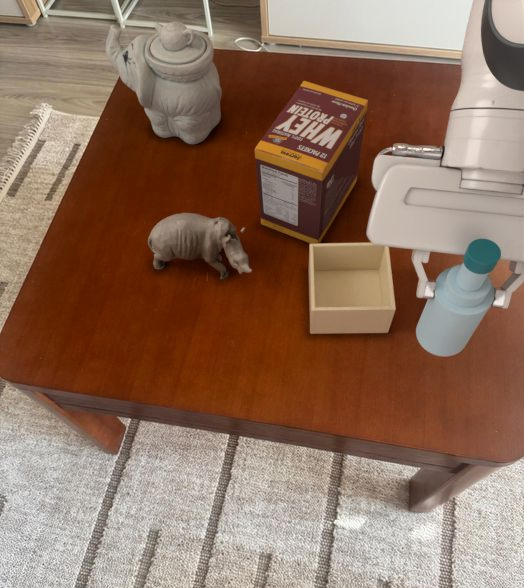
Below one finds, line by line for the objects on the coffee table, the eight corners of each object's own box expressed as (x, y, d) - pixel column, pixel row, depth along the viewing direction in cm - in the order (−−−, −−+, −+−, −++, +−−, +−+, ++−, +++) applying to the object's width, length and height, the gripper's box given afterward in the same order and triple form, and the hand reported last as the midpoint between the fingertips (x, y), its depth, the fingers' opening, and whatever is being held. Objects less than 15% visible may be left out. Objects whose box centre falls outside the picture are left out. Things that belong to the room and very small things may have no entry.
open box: (381, 269, 79) (388, 241, 74) (387, 332, 75) (395, 309, 69) (308, 270, 80) (309, 243, 74) (310, 333, 75) (311, 310, 69)
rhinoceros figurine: (149, 217, 83) (184, 175, 70) (223, 258, 89) (268, 226, 76) (131, 259, 80) (165, 223, 68) (209, 298, 86) (253, 272, 73)
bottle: (463, 311, 60) (511, 224, 46) (471, 356, 57) (524, 277, 44) (413, 312, 60) (446, 226, 46) (418, 357, 57) (456, 279, 44)
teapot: (124, 111, 98) (89, 8, 82) (196, 82, 101) (176, -24, 84) (160, 166, 92) (129, 66, 75) (236, 133, 94) (223, 28, 77)
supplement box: (358, 180, 88) (370, 98, 74) (318, 247, 82) (323, 172, 68) (302, 161, 90) (303, 78, 76) (259, 224, 85) (253, 148, 71)
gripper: (377, 138, 45) (353, 295, 50) (633, 161, 42) (583, 324, 47) (375, 143, 51) (354, 282, 56) (600, 163, 48) (558, 308, 53)
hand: (461, 302), depth 51 cm, fingers closed on bottle, 5 cm apart
